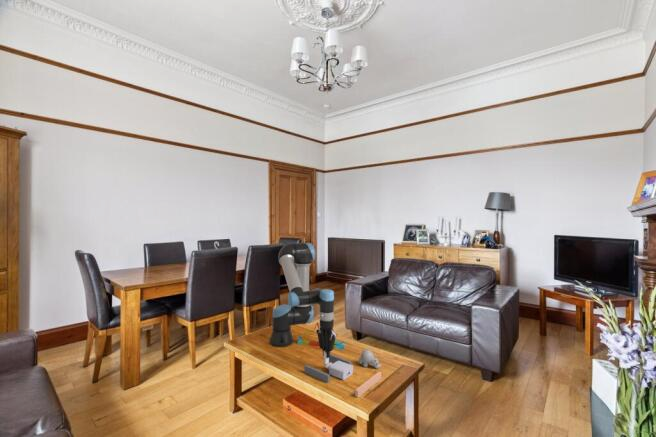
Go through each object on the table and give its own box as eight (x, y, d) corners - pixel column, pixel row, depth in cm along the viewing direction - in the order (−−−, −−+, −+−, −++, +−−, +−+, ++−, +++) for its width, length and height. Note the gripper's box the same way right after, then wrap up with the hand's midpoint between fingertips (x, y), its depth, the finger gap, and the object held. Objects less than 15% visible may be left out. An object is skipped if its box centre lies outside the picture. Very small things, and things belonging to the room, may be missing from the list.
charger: (330, 365, 170) (353, 373, 161) (319, 371, 163) (343, 380, 154) (330, 356, 170) (353, 364, 161) (320, 362, 163) (343, 371, 154)
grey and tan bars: (302, 373, 161) (302, 366, 161) (328, 358, 178) (328, 352, 178) (357, 397, 139) (357, 390, 139) (381, 378, 157) (381, 371, 157)
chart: (344, 347, 194) (345, 324, 194) (343, 349, 191) (344, 325, 191) (299, 342, 201) (299, 319, 201) (297, 344, 198) (297, 321, 198)
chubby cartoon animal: (374, 376, 164) (379, 363, 162) (355, 362, 170) (361, 349, 168) (379, 370, 170) (385, 358, 168) (361, 357, 176) (367, 344, 174)
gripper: (313, 318, 166) (312, 361, 166) (331, 323, 158) (331, 369, 158) (321, 314, 172) (321, 356, 172) (340, 319, 164) (340, 364, 164)
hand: (326, 362), depth 165 cm, fingers closed
